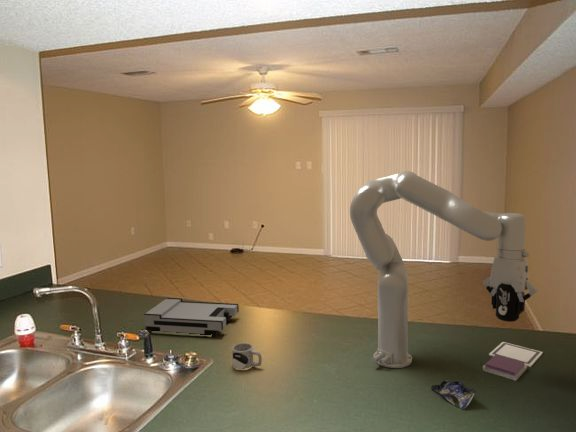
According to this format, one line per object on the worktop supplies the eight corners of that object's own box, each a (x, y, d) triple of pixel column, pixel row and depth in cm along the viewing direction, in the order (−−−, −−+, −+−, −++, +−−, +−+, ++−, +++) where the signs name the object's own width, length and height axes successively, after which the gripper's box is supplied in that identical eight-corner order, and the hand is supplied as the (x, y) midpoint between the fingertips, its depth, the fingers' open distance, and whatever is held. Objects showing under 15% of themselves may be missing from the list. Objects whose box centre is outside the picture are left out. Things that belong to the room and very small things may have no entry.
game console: (222, 340, 175) (221, 319, 173) (144, 334, 181) (143, 314, 180) (239, 319, 195) (238, 301, 193) (168, 315, 201) (167, 297, 200)
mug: (229, 369, 151) (228, 350, 150) (238, 360, 157) (237, 341, 156) (257, 373, 147) (257, 354, 146) (265, 364, 153) (265, 345, 152)
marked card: (530, 367, 147) (530, 365, 147) (488, 355, 156) (488, 353, 156) (542, 353, 156) (543, 351, 156) (502, 342, 165) (502, 341, 165)
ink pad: (516, 380, 139) (516, 374, 138) (482, 370, 146) (482, 364, 145) (526, 368, 146) (527, 362, 146) (494, 359, 153) (494, 353, 152)
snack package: (430, 406, 127) (476, 412, 123) (430, 383, 127) (476, 388, 123) (431, 392, 138) (473, 396, 135) (431, 370, 139) (473, 374, 135)
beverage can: (521, 323, 140) (523, 284, 138) (498, 321, 141) (500, 283, 139) (515, 315, 146) (517, 278, 144) (493, 314, 148) (495, 277, 146)
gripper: (545, 255, 137) (541, 313, 140) (486, 247, 149) (484, 301, 152) (537, 260, 132) (533, 320, 135) (476, 252, 144) (474, 307, 147)
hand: (507, 309), depth 143 cm, fingers closed on beverage can, 6 cm apart
